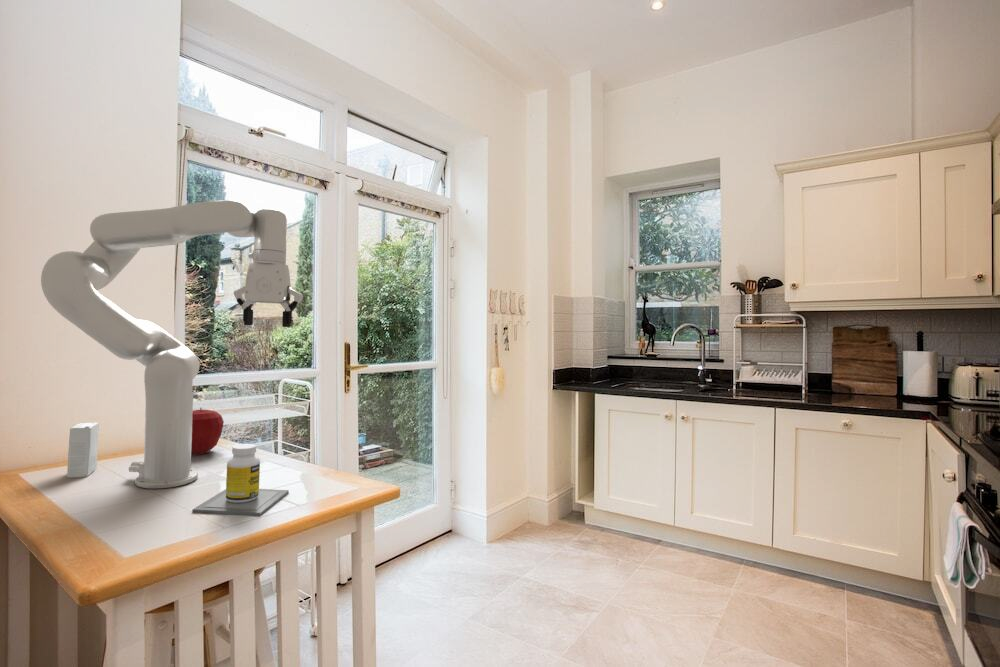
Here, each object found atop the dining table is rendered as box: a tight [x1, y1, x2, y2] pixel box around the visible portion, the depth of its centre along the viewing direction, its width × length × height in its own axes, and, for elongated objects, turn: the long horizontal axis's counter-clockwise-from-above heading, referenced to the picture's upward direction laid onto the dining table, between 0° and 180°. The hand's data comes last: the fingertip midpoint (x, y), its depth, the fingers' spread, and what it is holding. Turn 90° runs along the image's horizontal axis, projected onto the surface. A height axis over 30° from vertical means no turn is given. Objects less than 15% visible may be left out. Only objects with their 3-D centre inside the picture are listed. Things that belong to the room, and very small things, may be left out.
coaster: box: [191, 488, 290, 517], centre depth 112 cm, size 14×14×1 cm
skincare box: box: [66, 422, 100, 479], centre depth 125 cm, size 6×4×12 cm
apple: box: [191, 407, 225, 456], centre depth 148 cm, size 12×12×13 cm
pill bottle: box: [225, 443, 261, 503], centre depth 111 cm, size 6×6×12 cm
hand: (267, 325), depth 130 cm, fingers open, 9 cm apart
